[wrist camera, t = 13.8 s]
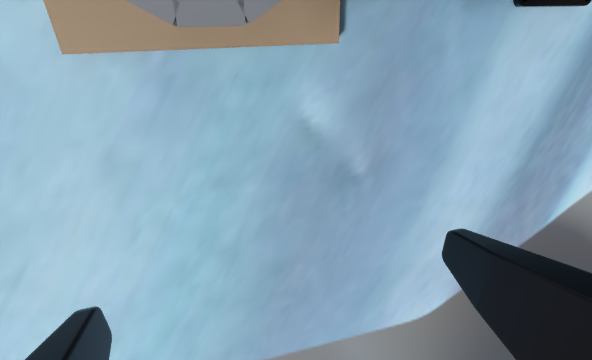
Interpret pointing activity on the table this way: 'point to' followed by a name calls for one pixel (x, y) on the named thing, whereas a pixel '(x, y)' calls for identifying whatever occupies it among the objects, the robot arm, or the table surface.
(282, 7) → the duct collar
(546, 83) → the table surface
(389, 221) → the table surface
